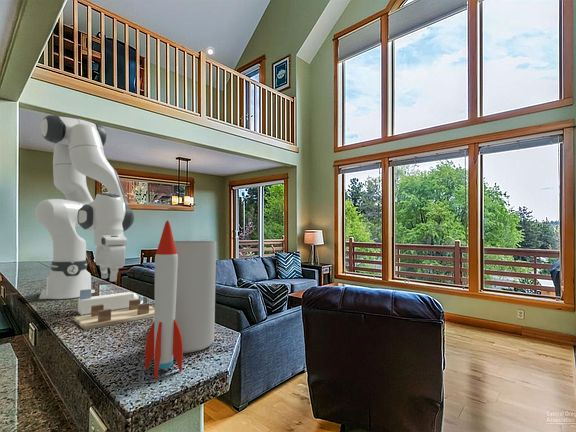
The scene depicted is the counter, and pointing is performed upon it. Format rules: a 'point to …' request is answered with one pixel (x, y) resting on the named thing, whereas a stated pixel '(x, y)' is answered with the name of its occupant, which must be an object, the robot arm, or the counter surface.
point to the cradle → (115, 315)
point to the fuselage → (104, 301)
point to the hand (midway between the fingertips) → (108, 279)
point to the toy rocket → (165, 308)
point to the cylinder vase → (196, 293)
